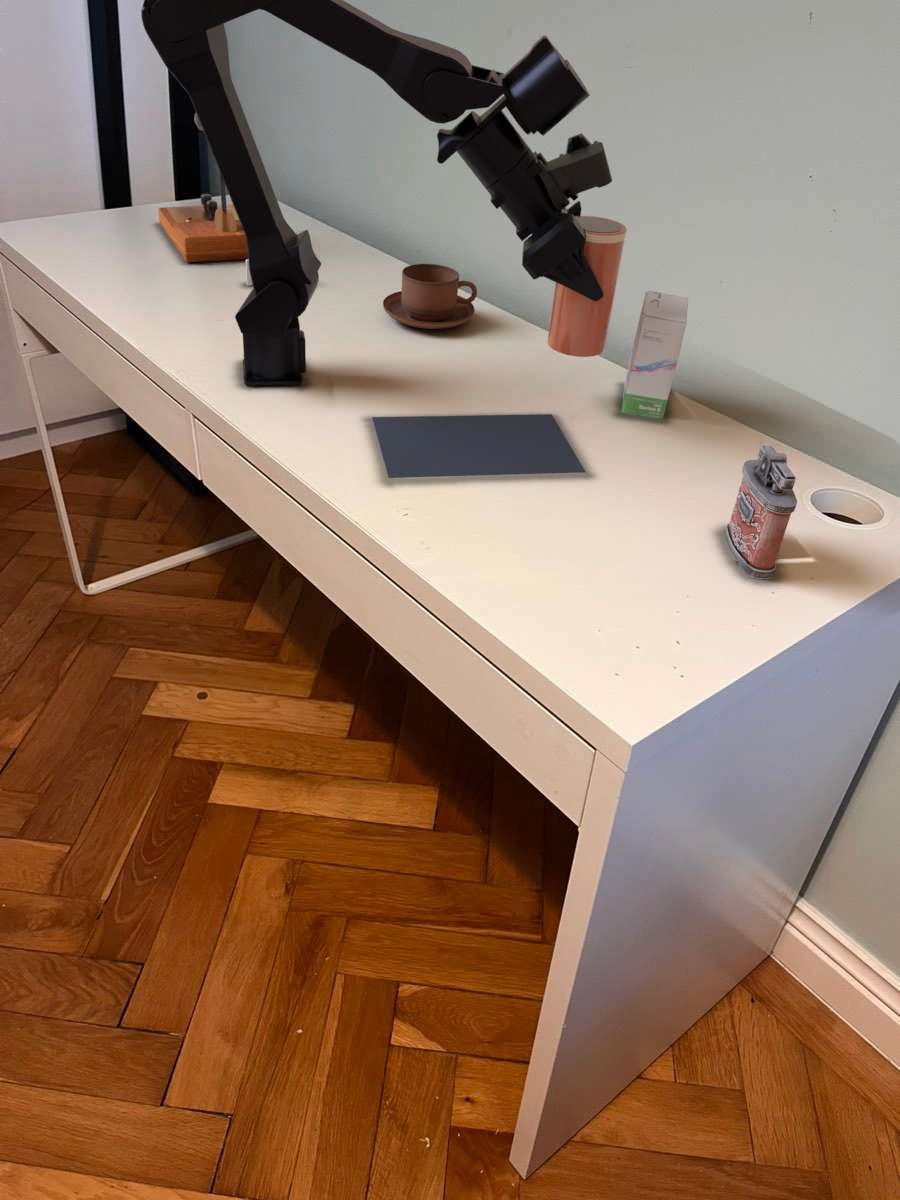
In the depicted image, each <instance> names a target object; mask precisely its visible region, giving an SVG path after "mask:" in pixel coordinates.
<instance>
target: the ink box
mask: <svg viewBox="0 0 900 1200" xmlns="http://www.w3.org/2000/svg"><path fill="white" fill-rule="evenodd" d="M688 309H689V297H688V296H683V295H677V294H671V293H667V292H662V291H661V292H660V291H657V290H656V291H655V290H647V291H645V294H644V298H643V302H642V306H641V310H640V313H639V316H638V322H637V326H636V330H635V334H634V339H633V343H632V347H631V352H630V356H629V360H628V366H627V370H626V375H625V380H624V388H623V396H622V397H623V398H622V404H621V413H622V414H627V415H632V416H633V415H634V416H641V417H646V418H647V417H648V418H655V419H664V417H665V412H666V408H667V403H668V400H669V397H670V393H671V388H672V384H673V380H674V377H675V372H676V368H677V364H678V360H679V356H680V354H681V353H680V352H681V348H682V344H683V341H684V335H685V332H686V327H687V321H688V311H689V310H688Z"/></svg>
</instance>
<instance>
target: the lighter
mask: <svg viewBox="0 0 900 1200" xmlns="http://www.w3.org/2000/svg"><path fill="white" fill-rule="evenodd" d="M785 453H786V452H778V451H777V449H776V448H775V447H774V446H773V445H770V444H761V445H760V447H759V450H758V453H757V457H758V458H757V459H749V460H746V461H744V463H743V466H742V471H741V474H742V477H741V481H740V485H739V488H738V492H737V495H736V499H735V502H734V506H733V509H732V513H731V517H730V519H729V523H727V524H726V526H725V530H724V533H725V538H726V542H727V544H728V547H729V549H730V552H731V553H732V554H733V556H734V557H735V559H736V560H735V563H736V564H737V565H738V566H739V567H740V569H741V570H742V571H743V573H745V574H746V575H747V576H748V577H751V578H753V579H756V580H769V579H771V578H772V577H774V574H775V572H776V568H777V564H776V561H777V558H778V555H779V552H780V549H781V546H782V543H783V539H784V537H785V533H786V531H787V528H788V525H789V521H790V518H791V515H792V514H793V513H794V512H795V511H796V507H797V505H798V500H797V496H796V493H795V491H794V486H795V483H796V480H797V477H796V476H795V473H794V472H793V470H792V469H791V468H790V467H789V466H788V462H787V461H788V457H787V455H786V454H785Z"/></svg>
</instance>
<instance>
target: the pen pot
mask: <svg viewBox="0 0 900 1200" xmlns="http://www.w3.org/2000/svg"><path fill="white" fill-rule="evenodd" d="M574 217H575V218H576V219H577V221H578V222H579V224H580V225H581V227H582V229H584V228H585V232H586V242H585V245H584V250H583V253H584V255H585V257H586V259H587V261H588V263H589V265H590V267H591V269H592V271H593V273H594V275H595V277H596V279H597V281H598V283H599V285H600V287H601V289H602V291H603V293H604V296H603V297H602V298H601V299H600V300H598V301H593V300H591V299H589V298H587V297H585V296H583V295H581V294H579V293H577V292H575V291H573V290H571V289H569V288H567V287H565V286H563V285H561V284H559V283H556V282H555V285H554V291H553V299H552V306H551V313H550V317H549V325H548V332H547V333H548V334H547V340H546V344H547V345H548V347H549V348H550V349H551V350H553V351H555V352H558V353H560V354H563V355H566V356H570V357H579V358H589V357H590V358H591V357H595V356H599V355H601V354H603V353H604V352H605V349H606V345H607V339H608V334H609V328H610V322H611V317H612V311H613V307H614V302H615V301H614V300H615V295H616V290H617V284H618V278H619V273H620V268H621V262H622V256H623V252H624V245H625V240H626V237H627V231H628V229H627V227H626V225H624V224H623V223H622V222H619V221H617V220H614V219H611V218H606V217H601V216H593V215H581V216H574Z"/></svg>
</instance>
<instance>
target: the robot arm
mask: <svg viewBox="0 0 900 1200" xmlns="http://www.w3.org/2000/svg"><path fill="white" fill-rule="evenodd" d="M257 10H262V11H265V12H267V13H269V14H270V15H271V16H273V17H276V18H277V19H279V20H281V21H283V22H285V23H286V24H288V25H290V26H292V27H294V28H295V29H297V30H299V31H300V32H302V33H304V34H306V35H308V36H309V37H310V38H313V39H314V40H316V41H318V42H320V43H322V44H324V45H325V46H327V47H329V48H331V49H333V50H334V51H336V52H338V53H339V54H341V55H343V56H345V57H346V58H348V59H351V61H354V62H355V63H357V64H359V65H361V66H362V67H364V68H365V69H367V70H370V71H371V72H373V73H374V74H375V75H376V76H378V77H379V78H380V79H381V80H383V82H385V83H386V85H388V86H389V87H390V89H391V90H393V92H394V93H395V94H396V95H397V96H398V97H399V98H401V99H402V100H403V101H404V102H406V104H408V105H409V106H410V107H412V109H414V110H415V111H416V112H418V113H419V114H420V115H421V116H422V117H424V118H425V119H426V120H428V121H430V122H433V123H435V124H443V125H444V124H447V123H450V122H453V121H456V120H457V119H459V118H460V117H461V116H463V115H464V113H465V112H466V111H470V112H469V113H468V114H467V115H466V116H465V117H463V119H461V120H460V121H459V122H458V123H457V124H456V125H455V126H454V127H453V128H452V129H444V128H439V129H438V130H437V134H436V137H437V143H438V150H437V151H438V152H437V156H436V161H437V163H438V164H441V165H442V164H444V163H446V162H447V160H449V159H450V158H451V157H452V156H453V155H454V154H455V153H457V154H458V155H459V157H460V158H461V159H462V160H463V162H464V163H465V164H466V166H467V167H468V168H469V169H470V170H471V172H472V173H473V174H474V176H475V177H476V179H477V180H478V181H479V182H480V183H481V185H482V186H483V188H485V190H486V191H487V193H488V194H489V195H490V203H491V204H492V205H493V207H494V208H495V209H496V210H498V209H499V208H500V209H501V211H502V212H503V213H504V214H505V216H507V218H508V219H509V220H510V222H511V223H512V225H513V226H514V227H515V235H516V236H517V237H518V238H519V240H520V241H521V242H523V245H522V253H521V258H522V259H521V266H522V267H523V269H524V270H525V271H526V272H527V273H528V275H529V276H530V278H532V280H537V279H539V278H545V279H547V280H550V281H552V282H554V283H555V284H556V283H559V284H561V285H563V286H565V287H567V288H569V289H571V290H573V291H575V292H577V293H579V294H581V295H583V296H585V297H587V298H589V299H591V300H593V301H598V300H600V299H601V298H602V297H603V296H604V293H603V291H602V289H601V287H600V285H599V283H598V281H597V279H596V277H595V275H594V273H593V271H592V269H591V267H590V265H589V263H588V261H587V259H586V257H585V255H584V253H583V250H584V245H585V242H586V232H585V228H584V229H582V227H581V225H580V224H579V222H578V221H577V219H576V218H575V217H574V216H582V203H581V201H580V200H578V201H576V200H577V199H579V194H581V193H583V192H586V191H588V190H591V189H594V188H598V189H600V188H603V187H606V186H608V185H609V184H611V183H612V182H613V177H612V174H611V170H610V166H609V163H608V158H607V155H606V151H605V146H604V143H603V142H602V141H598V140H594V141H593V143H591V141H590V140H589V139H588V138H587V137H586V136H585V135H584V134H583V133H579V134H576V135H573V136H570V137H568V138H567V144H566V149H565V154H564V153H560V154H559V156H558V157H556V158H553V159H550V160H549V161H547V160H546V158H545V157H544V156H543V155H544V154H542V153H541V152H537V151H536V150H535V151H532V149H531V147H529V145H528V144H527V142H526V141H525V139H524V138H523V137H522V135H521V134H520V132H518V130H517V129H516V128H515V126H514V125H513V124H512V122H511V120H510V119H509V118H508V117H507V115H506V114H505V112H504V111H503V110H504V109H505V108H506V109H507V111H508V112H509V114H510V115H511V116H512V118H513V119H514V121H515V122H516V123H517V125H518V126H519V128H520V129H521V130H522V131H523V132H524V133H525V134H526V135H527V136H529V135H530V134H532V135H535V134H536V133H537V132H538V133H539V134H540V135H541V136H542V137H544V136H545V135H547V134H548V133H549V132H550V131H551V130H552V129H554V127H556V126H557V125H558V124H559V123H560V122H561V121H562V120H564V119H565V118H566V117H567V116H569V114H571V113H572V112H573V111H574V110H575V109H576V108H577V107H579V106H580V105H581V104H582V103H583V102H584V101H586V100H587V99H588V98H589V97H590V96H591V95H590V93H589V91H588V88H587V87H586V86H585V84H584V83H583V81H582V79H581V78H580V76H579V75H578V73H577V71H576V70H575V69H574V67H573V66H572V64H571V63H570V61H569V60H568V59H567V58H566V59H565V58H564V57H563V55H561V53H560V52H559V50H558V49H557V48H556V46H554V44H553V43H552V41H551V40H550V39H549V37H548V36H547V35H542V36H541V37H540V38H539V39H538V40H537V41H536V42H534V44H533V45H532V47H531V48H530V50H529V51H528V52H527V53H526V54H525V55H524V56H523V57H521V59H520V60H518V61H517V62H516V63H515V64H514V65H512V67H511V68H510V69H508V71H506V72H505V73H504V72H501V71H497V70H495V69H493V68H492V69H491V68H485V67H482V66H479V65H478V66H477V65H474V64H472V63H471V61H470V60H469V58H468V57H467V56H466V55H465V54H464V53H462V51H460V50H458V49H456V48H454V47H451V46H449V45H445V44H442V43H440V42H436V41H433V40H431V39H428V38H426V37H421V36H417V35H414V34H410V33H406V32H403V31H399V30H398V29H394V28H392V27H391V26H389V25H387V24H385V23H383V22H381V21H380V20H378V19H376V18H375V17H373V16H371V15H369V14H368V13H366V12H364V11H362V10H360V9H359V8H358V7H356V6H354V5H352V4H351V3H349V2H347V1H345V0H143V4H142V7H141V10H140V13H141V14H140V15H141V21H142V22H141V23H142V26H143V29H144V31H145V33H146V35H147V36H148V39H149V40H150V42H151V43H152V46H153V47H154V49H155V50H156V52H157V54H158V55H159V57H160V59H161V61H162V62H163V64H164V66H165V67H166V68H167V70H168V71H169V73H171V74H172V76H173V77H174V78H175V79H176V80H177V82H178V83H179V84H180V86H181V87H182V88H183V89H184V90H185V92H186V93H187V95H188V97H189V99H190V101H191V104H192V106H193V108H194V111H195V113H197V116H198V118H199V121H200V123H201V126H202V128H203V131H204V132H203V131H202V132H203V133H204V136H205V138H206V141H207V143H208V146H209V148H210V150H211V153H212V155H213V158H214V161H215V163H216V166H217V168H218V171H220V173H221V176H222V178H223V181H224V183H225V189H226V190H227V193H228V195H229V198H230V200H231V202H232V203H231V204H233V205H234V208H235V210H236V213H237V215H238V218H239V220H240V223H241V225H242V228H243V230H244V233H245V235H246V239H247V248H248V259H247V260H249V271H250V275H251V280H252V284H253V285H252V289H251V291H250V292H249V293H248V295H247V297H246V299H244V302H243V303H242V304H241V306H240V307H239V309H238V311H237V312H236V314H235V315H234V319H235V321H236V324H237V326H238V329H239V330H240V333H241V334H242V348H243V351H242V352H243V359H242V368H243V369H242V370H243V371H242V373H243V384H244V385H245V386H297V385H298V386H299V385H300V386H301V385H303V381H304V379H303V375H304V374H305V373H306V372H307V365H306V364H307V363H306V362H307V358H306V357H307V356H306V355H307V353H306V349H307V348H306V337H305V336H306V335H305V331H304V330H302V329H301V325H300V320H299V317H300V316H301V315H302V314H304V312H305V311H306V310H307V308H308V305H309V304H310V302H311V300H312V298H313V296H314V293H315V292H316V289H317V287H318V285H319V279H320V278H319V277H320V275H319V270H320V268H321V266H322V261H320V260H319V258H318V257H317V255H316V254H315V251H314V248H313V245H312V239H311V235H310V232H309V230H308V229H305V230H303V231H301V232H299V233H296V232H295V231H294V229H293V228H292V227H291V226H290V225H289V223H288V222H287V221H286V219H285V218H284V215H283V212H282V210H281V207H280V204H279V202H278V199H277V196H276V194H275V191H274V189H273V186H272V183H271V181H270V178H269V176H268V172H267V170H266V167H265V164H264V162H263V160H262V156H261V154H260V151H259V149H258V147H257V144H256V140H255V139H254V135H253V133H252V131H251V128H250V125H249V122H248V119H247V117H246V114H245V112H244V109H243V106H242V104H241V102H240V99H239V96H238V93H237V90H236V87H235V85H234V82H233V79H232V76H231V75H232V74H231V68H230V65H231V64H230V55H229V43H228V42H229V41H228V38H227V33H226V28H225V23H228V22H231V21H233V20H235V19H238V18H240V17H244V16H245V15H248V14H250V13H253V12H256V11H257ZM499 98H500V99H499ZM497 100H498V101H497ZM480 109H487V110H486V111H485V112H484V113H482V114H481V115H479V114H478V113H477V112H475V111H474V110H480ZM471 110H472V111H471ZM220 173H219V174H220ZM569 199H571V200H572V201H573V202H574V204H572V205H571V206H570V207H568V206H569V205H570V204H571V201H570V200H569ZM575 201H576V202H575Z"/></svg>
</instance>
